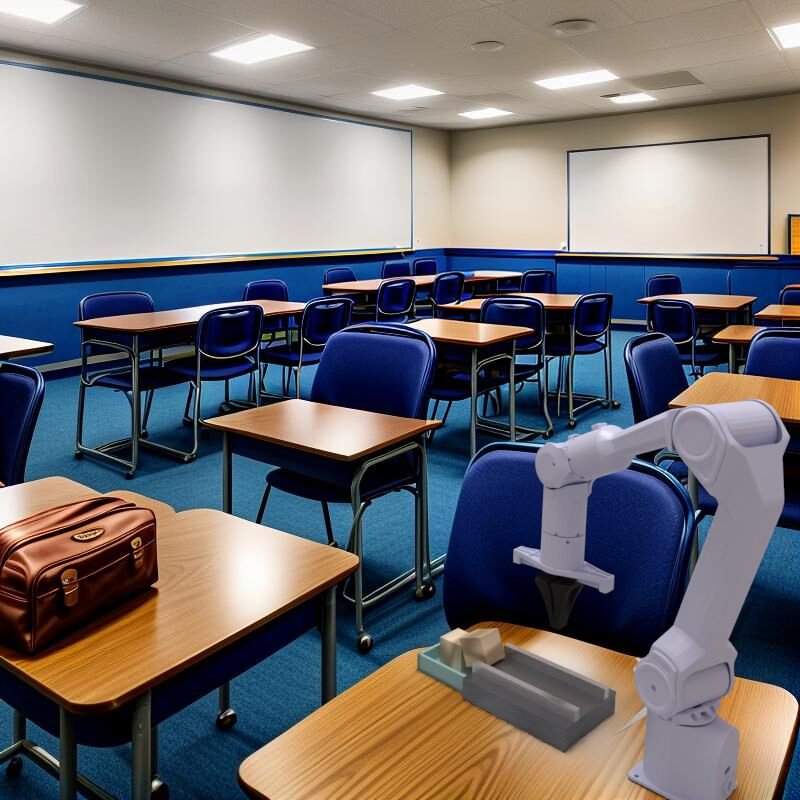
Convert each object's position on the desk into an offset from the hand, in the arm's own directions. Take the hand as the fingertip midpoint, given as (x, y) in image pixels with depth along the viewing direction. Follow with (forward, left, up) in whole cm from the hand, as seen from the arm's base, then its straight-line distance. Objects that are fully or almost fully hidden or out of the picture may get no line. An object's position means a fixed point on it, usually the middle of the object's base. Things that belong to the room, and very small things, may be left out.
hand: (558, 625), depth 101 cm
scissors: (-11, -7, -10) cm, 17 cm away
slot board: (0, +5, -9) cm, 11 cm away
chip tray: (+12, +5, -9) cm, 16 cm away
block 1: (+11, +5, -7) cm, 14 cm away
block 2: (+8, +5, -7) cm, 12 cm away
